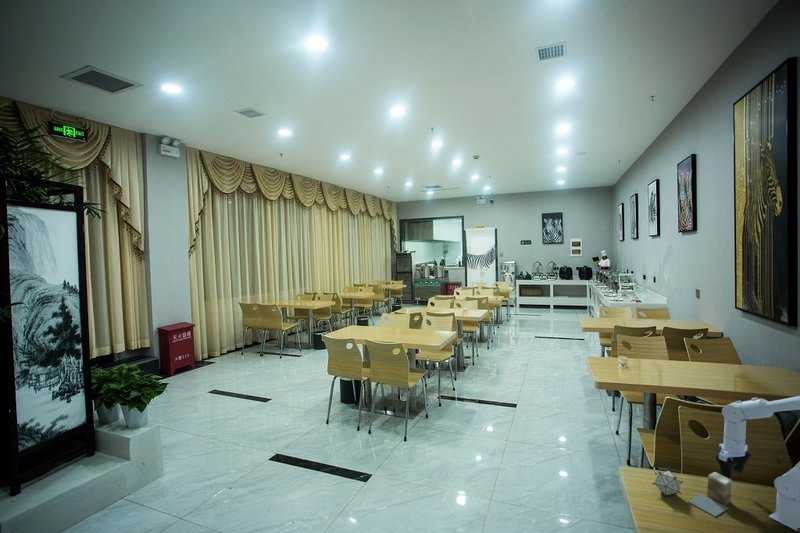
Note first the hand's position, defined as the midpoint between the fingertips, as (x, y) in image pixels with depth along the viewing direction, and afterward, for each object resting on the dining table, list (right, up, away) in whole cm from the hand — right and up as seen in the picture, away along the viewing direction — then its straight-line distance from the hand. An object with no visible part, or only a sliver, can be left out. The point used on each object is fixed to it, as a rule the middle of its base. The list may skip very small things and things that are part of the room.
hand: (732, 474), depth 140 cm
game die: (-22, -7, +1) cm, 23 cm away
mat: (-13, -7, -6) cm, 16 cm away
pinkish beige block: (-7, -7, -3) cm, 11 cm away
